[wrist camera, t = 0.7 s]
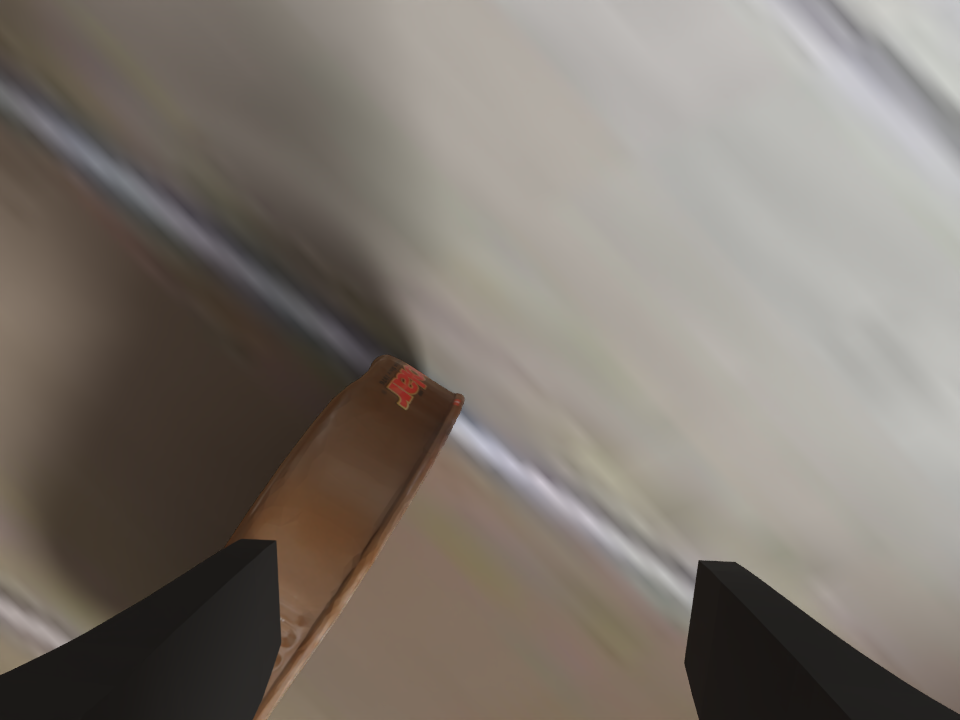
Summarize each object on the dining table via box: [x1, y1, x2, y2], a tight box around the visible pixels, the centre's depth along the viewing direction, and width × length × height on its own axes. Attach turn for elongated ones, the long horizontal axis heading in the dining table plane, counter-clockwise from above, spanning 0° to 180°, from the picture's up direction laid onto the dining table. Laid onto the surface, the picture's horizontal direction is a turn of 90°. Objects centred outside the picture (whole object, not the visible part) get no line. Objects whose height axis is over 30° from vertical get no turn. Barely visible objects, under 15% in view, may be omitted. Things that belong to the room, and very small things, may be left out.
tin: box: [224, 355, 464, 720], centre depth 17 cm, size 15×3×8 cm, turn 147°
